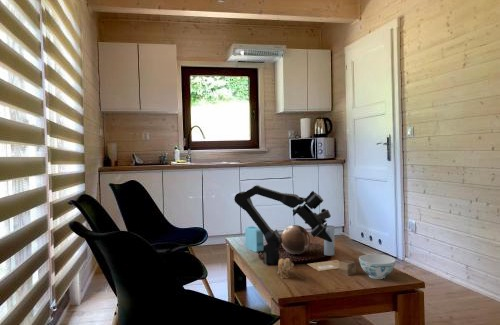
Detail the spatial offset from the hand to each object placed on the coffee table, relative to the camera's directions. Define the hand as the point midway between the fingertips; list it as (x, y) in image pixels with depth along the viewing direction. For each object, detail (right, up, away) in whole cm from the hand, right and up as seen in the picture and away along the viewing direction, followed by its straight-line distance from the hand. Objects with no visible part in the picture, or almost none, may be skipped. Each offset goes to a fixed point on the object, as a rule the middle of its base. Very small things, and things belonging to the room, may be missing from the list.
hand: (332, 240), depth 194 cm
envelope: (-1, -12, +2) cm, 13 cm away
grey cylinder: (-1, -7, +1) cm, 7 cm away
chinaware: (+16, -13, -15) cm, 26 cm away
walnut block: (+5, -13, -10) cm, 17 cm away
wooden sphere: (-14, -12, +24) cm, 30 cm away
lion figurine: (-23, -14, -11) cm, 29 cm away
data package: (-36, -12, +34) cm, 51 cm away
